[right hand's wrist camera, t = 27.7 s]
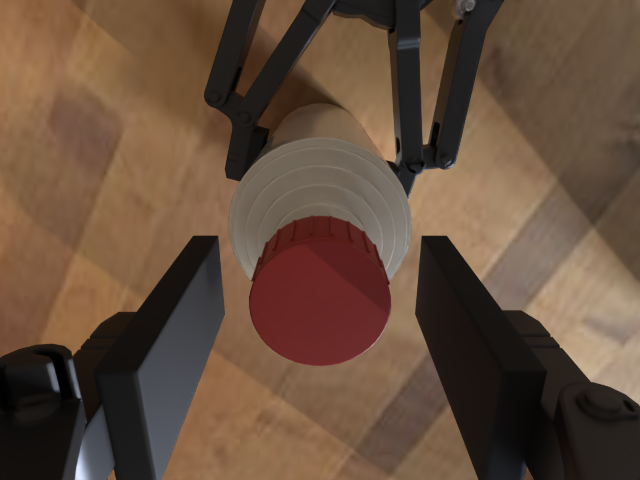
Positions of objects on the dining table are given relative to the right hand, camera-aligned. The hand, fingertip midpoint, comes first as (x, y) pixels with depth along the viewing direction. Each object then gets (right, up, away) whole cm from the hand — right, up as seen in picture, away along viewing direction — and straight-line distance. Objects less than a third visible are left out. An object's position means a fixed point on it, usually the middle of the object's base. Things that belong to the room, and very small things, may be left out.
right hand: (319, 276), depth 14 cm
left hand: (-1, +1, +15) cm, 15 cm away
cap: (0, -1, -2) cm, 2 cm away
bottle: (0, +7, +19) cm, 21 cm away
